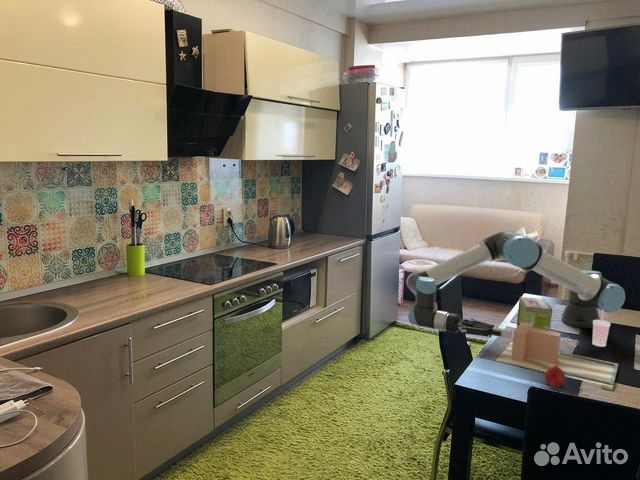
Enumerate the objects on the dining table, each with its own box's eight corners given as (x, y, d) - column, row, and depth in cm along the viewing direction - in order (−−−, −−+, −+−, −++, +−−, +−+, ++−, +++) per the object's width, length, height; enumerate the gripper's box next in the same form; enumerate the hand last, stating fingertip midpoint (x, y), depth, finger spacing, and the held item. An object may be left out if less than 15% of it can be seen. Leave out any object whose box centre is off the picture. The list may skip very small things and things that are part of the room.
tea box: (549, 346, 203) (553, 308, 200) (521, 343, 205) (525, 306, 202) (541, 332, 217) (544, 297, 215) (515, 330, 219) (518, 295, 217)
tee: (519, 347, 197) (521, 322, 196) (559, 356, 190) (562, 329, 188) (511, 358, 188) (513, 331, 186) (553, 367, 180) (556, 339, 178)
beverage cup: (607, 348, 201) (611, 313, 199) (589, 345, 204) (593, 310, 202) (608, 343, 206) (612, 309, 204) (591, 340, 210) (595, 306, 207)
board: (511, 344, 204) (511, 340, 204) (618, 366, 185) (618, 362, 184) (495, 363, 186) (496, 358, 185) (612, 390, 167) (612, 385, 166)
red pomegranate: (540, 384, 170) (542, 360, 168) (557, 384, 170) (560, 360, 169) (549, 392, 164) (552, 368, 163) (567, 392, 164) (570, 368, 163)
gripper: (453, 326, 211) (514, 339, 198) (441, 336, 200) (505, 350, 188) (454, 308, 210) (516, 320, 197) (442, 317, 199) (507, 330, 186)
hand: (511, 334), depth 192 cm, fingers closed
